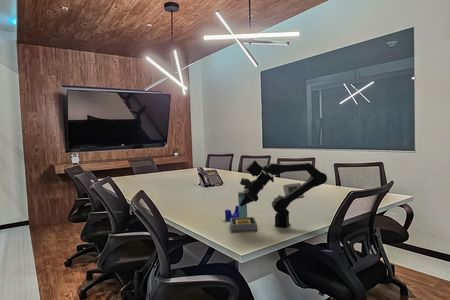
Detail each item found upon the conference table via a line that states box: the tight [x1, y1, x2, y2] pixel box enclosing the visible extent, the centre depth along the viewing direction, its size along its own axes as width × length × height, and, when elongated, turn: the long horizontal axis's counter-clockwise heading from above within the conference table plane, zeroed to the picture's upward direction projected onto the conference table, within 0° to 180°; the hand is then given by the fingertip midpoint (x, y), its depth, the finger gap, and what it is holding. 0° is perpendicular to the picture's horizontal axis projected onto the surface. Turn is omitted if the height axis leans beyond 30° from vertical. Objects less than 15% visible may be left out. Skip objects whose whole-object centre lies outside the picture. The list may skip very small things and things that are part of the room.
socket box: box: [229, 216, 258, 233], centre depth 156 cm, size 13×13×4 cm
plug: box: [237, 191, 248, 218], centre depth 155 cm, size 4×4×13 cm
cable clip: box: [224, 205, 239, 221], centre depth 175 cm, size 12×4×6 cm, turn 143°
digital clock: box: [282, 182, 305, 199], centre depth 223 cm, size 16×9×11 cm, turn 103°
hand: (239, 204), depth 155 cm, fingers closed on plug, 4 cm apart
